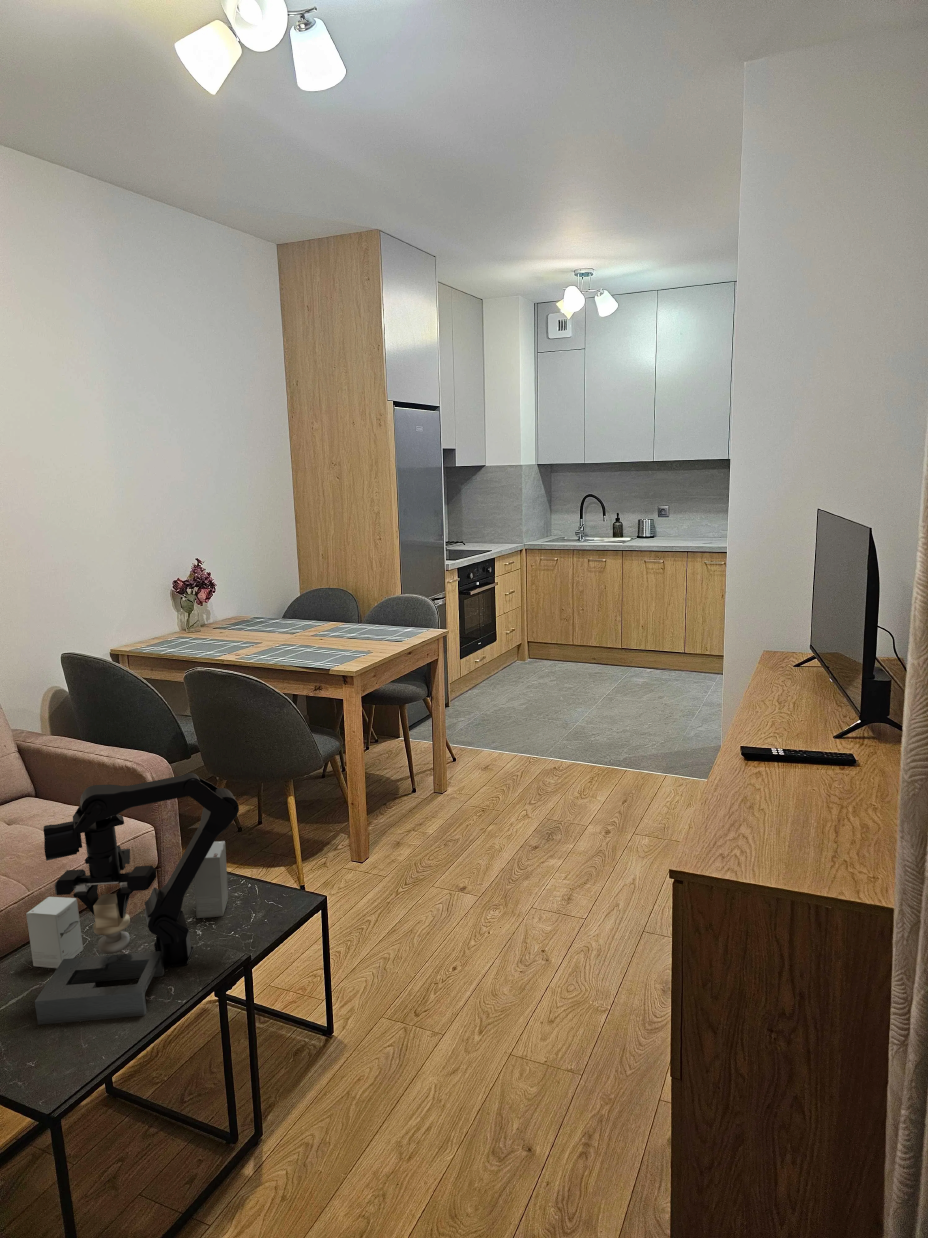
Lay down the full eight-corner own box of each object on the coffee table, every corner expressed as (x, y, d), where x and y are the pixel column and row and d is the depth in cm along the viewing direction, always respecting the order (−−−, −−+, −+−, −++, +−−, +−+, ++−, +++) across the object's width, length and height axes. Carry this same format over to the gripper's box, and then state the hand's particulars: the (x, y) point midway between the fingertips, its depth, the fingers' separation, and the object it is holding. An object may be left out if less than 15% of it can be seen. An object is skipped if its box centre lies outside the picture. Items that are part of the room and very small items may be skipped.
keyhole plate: (164, 972, 174) (161, 951, 173) (144, 1015, 160) (141, 992, 159) (66, 981, 172) (63, 959, 172) (38, 1025, 159) (34, 1001, 158)
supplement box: (62, 969, 177) (55, 915, 174) (32, 967, 178) (24, 913, 176) (84, 950, 184) (77, 897, 181) (55, 947, 185) (48, 895, 183)
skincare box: (202, 902, 203) (196, 841, 200) (232, 899, 203) (226, 838, 201) (195, 920, 194) (188, 857, 192) (226, 917, 195) (220, 854, 192)
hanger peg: (137, 935, 176) (131, 890, 174) (125, 954, 169) (119, 907, 168) (104, 937, 176) (98, 892, 174) (90, 956, 169) (84, 909, 167)
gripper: (160, 828, 177) (168, 895, 180) (72, 833, 177) (82, 900, 179) (142, 852, 166) (151, 923, 169) (48, 857, 166) (59, 928, 168)
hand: (111, 918), depth 172 cm, fingers closed on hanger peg, 4 cm apart
